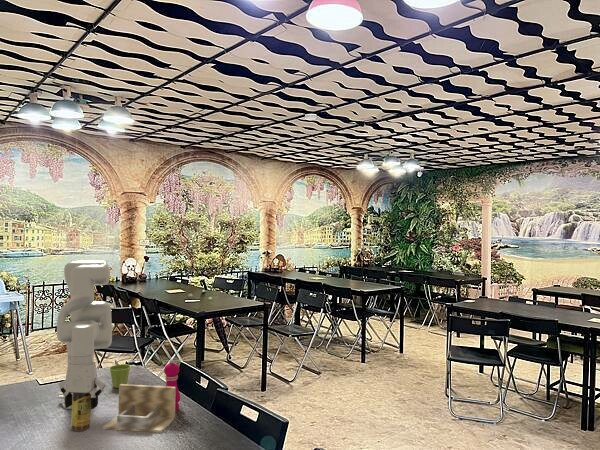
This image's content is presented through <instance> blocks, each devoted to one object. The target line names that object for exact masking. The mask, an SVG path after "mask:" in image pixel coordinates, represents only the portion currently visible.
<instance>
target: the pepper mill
mask: <svg viewBox="0 0 600 450" xmlns="http://www.w3.org/2000/svg"><path fill="white" fill-rule="evenodd" d="M179 372H180V366H179V365H178V363H176V362H175V360H174V359H170V360H169V363H167V364H166V365H165V366H164V369H163V373H164V374H165V376H164V377H165V379H164V380H165V381H166V382H165V386H170V387H176V394H175V412H177V411H178V410H179V409H180V404H179V402H180V401H181V393H180V391H179V388H178V379H179V375H178V374H179Z"/></svg>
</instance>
